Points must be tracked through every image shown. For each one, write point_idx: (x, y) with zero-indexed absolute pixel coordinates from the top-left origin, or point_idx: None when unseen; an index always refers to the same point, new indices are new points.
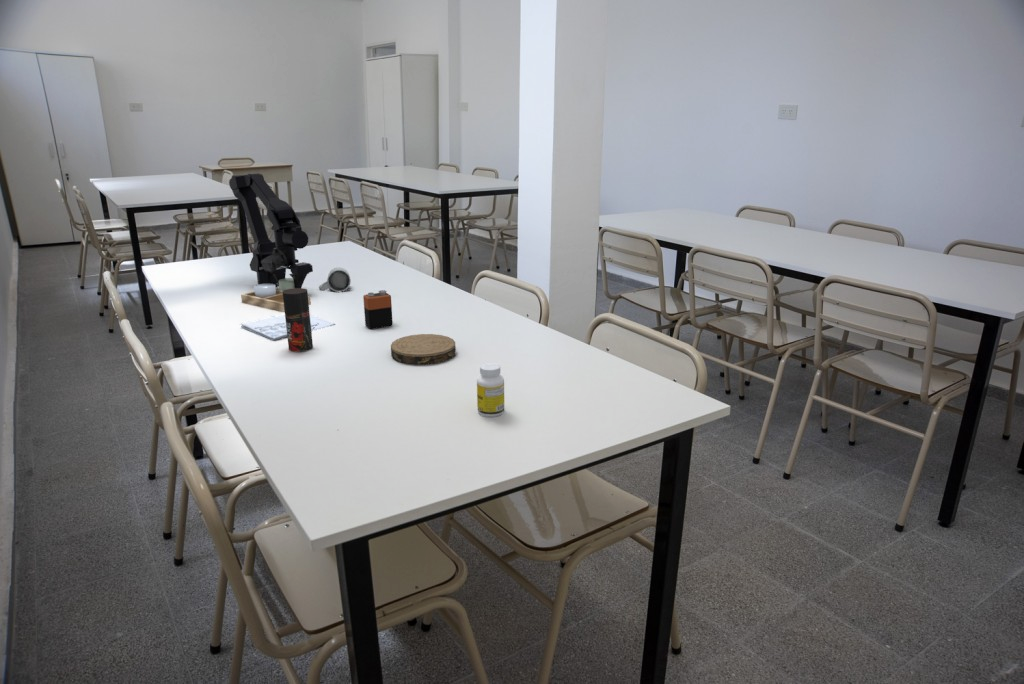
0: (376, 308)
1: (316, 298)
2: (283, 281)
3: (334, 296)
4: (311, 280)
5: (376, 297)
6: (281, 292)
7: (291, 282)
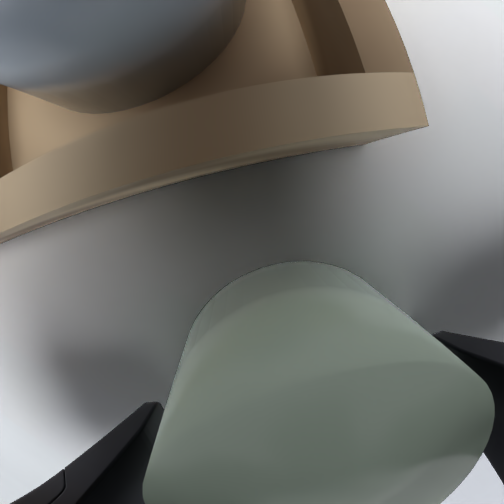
0: None
1: (31, 421)
2: (317, 440)
3: None
4: (461, 499)
5: None
6: (13, 175)
7: (143, 488)
